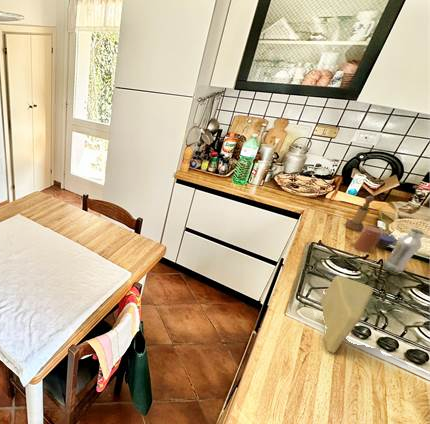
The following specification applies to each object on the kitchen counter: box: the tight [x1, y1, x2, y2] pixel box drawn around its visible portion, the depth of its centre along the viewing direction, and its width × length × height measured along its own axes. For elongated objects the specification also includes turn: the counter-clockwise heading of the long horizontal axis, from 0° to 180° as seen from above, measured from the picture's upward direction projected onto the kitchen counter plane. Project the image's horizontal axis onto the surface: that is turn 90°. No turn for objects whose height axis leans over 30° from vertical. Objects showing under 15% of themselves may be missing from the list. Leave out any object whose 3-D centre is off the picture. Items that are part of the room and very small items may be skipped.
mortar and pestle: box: [344, 195, 375, 232], centre depth 154 cm, size 7×6×18 cm
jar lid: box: [379, 233, 397, 245], centre depth 142 cm, size 7×7×2 cm
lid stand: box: [376, 242, 391, 250], centre depth 143 cm, size 5×5×4 cm
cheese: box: [319, 275, 374, 354], centre depth 96 cm, size 22×10×15 cm, turn 138°
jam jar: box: [353, 225, 384, 253], centre depth 139 cm, size 7×7×10 cm
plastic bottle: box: [382, 228, 425, 273], centre depth 122 cm, size 6×7×20 cm
